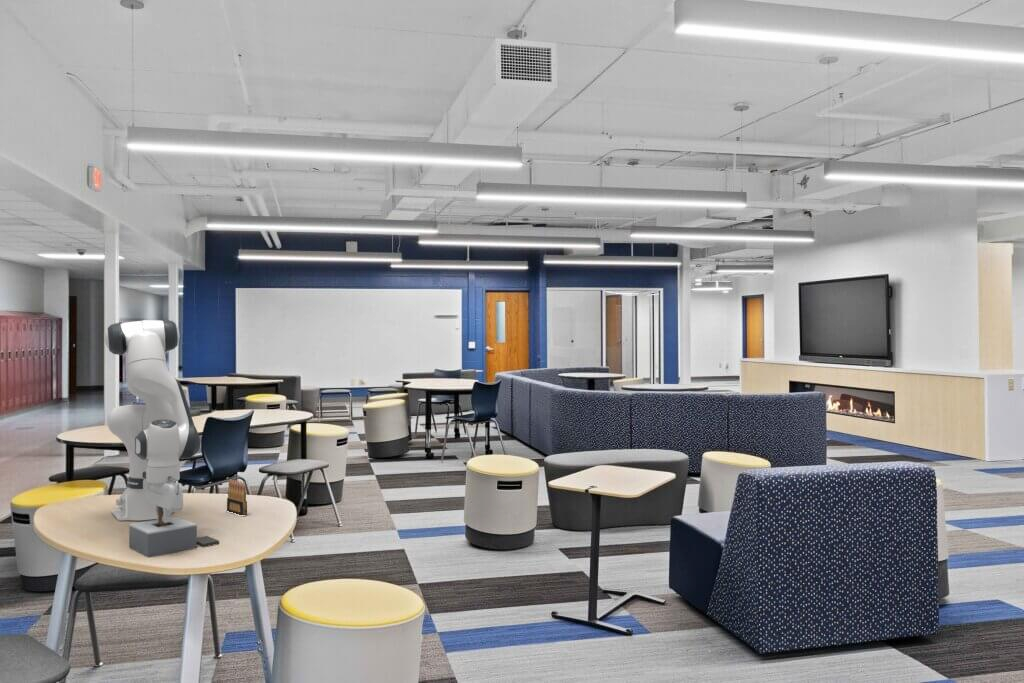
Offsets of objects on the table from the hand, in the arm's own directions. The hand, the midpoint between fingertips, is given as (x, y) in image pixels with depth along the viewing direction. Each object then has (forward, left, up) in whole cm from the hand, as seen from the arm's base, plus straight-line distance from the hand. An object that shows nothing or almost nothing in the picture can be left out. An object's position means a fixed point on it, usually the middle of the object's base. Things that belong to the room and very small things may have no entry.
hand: (163, 521), depth 224 cm
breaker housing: (0, 0, -8) cm, 8 cm away
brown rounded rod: (0, 0, -5) cm, 5 cm away
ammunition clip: (-25, +36, -8) cm, 45 cm away
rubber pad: (+4, +11, -8) cm, 14 cm away
